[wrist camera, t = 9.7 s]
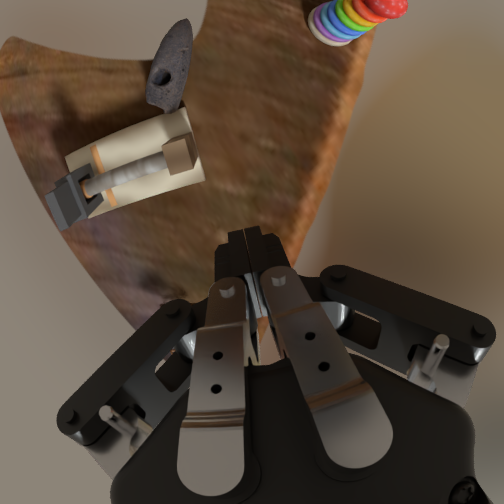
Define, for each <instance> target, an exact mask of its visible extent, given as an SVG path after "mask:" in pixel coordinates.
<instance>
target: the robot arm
mask: <svg viewBox="0 0 504 504" xmlns="http://www.w3.org/2000/svg"><path fill="white" fill-rule="evenodd" d="M244 231H245V236H246V240H245V236H244V232H243V229H241V230H237V231H232V232H228V242H229V243H226V244H221V245H219V246H218V247H217V249H216V251H215V283H214V284H213V285H212V286H211V287H210V289H209V295H208V297H207V298H206V299H204V300H202V301H201V302H198V303H196V304H194V305H192V306H191V305H190V303H189V302H188V301H186V300H183V299H176V300H172V301H169V302H167V303H166V304H164V305H163V306H162V307H161V308H160V309H159V310H157V311H156V312H155V313H154V314H153V315H152V316H151V317H150V318H149V319H148V320H147V321H146V322H145V323H144V324H143V325H142V326H141V327H140V328H139V329H138V330H137V331H136V332H135V333H134V334H133V335H132V336H131V337H130V338H129V339H128V340H127V341H126V342H125V343H124V344H123V345H122V346H121V347H120V348H119V349H117V351H115V352H114V354H112V355H111V356H110V358H108V359H107V360H106V361H105V362H104V363H103V365H102V366H101V367H99V368H98V369H97V371H95V373H94V374H92V376H91V377H90V378H89V379H88V380H87V381H86V382H85V383H84V384H83V385H82V386H81V387H80V388H79V389H78V390H77V391H76V392H75V393H74V394H73V395H72V396H71V397H70V398H69V399H68V400H67V401H66V402H65V403H64V404H63V405H62V407H61V408H60V409H59V412H58V414H57V426H58V428H59V430H60V431H61V432H62V433H64V434H65V435H67V436H68V437H70V438H71V439H73V440H74V441H76V442H77V443H78V444H79V445H81V446H83V447H84V448H86V449H87V450H88V452H89V453H90V455H91V456H92V457H93V458H94V459H95V461H96V462H97V463H98V464H99V465H100V466H101V468H102V469H103V470H104V471H105V472H106V473H107V474H108V475H109V476H110V478H111V479H112V480H113V482H112V485H111V491H110V498H111V504H493V502H492V501H491V500H490V499H489V498H488V496H487V495H486V494H485V492H484V491H483V490H482V488H481V487H480V485H479V484H478V482H477V480H476V477H475V471H474V444H475V429H474V425H473V422H472V420H471V418H470V416H469V415H468V413H467V412H466V411H465V410H464V407H465V404H466V402H467V399H468V396H469V393H470V390H471V387H472V384H473V381H474V378H475V374H476V371H477V367H478V365H479V364H480V362H481V361H482V359H483V358H484V357H485V355H486V354H487V352H488V350H489V349H490V348H491V346H492V344H493V343H494V341H495V338H496V331H495V328H494V326H493V324H492V322H491V321H490V320H489V319H487V318H486V317H484V316H482V315H479V314H477V313H474V312H471V311H469V310H466V309H463V308H461V307H458V306H456V305H453V304H450V303H448V302H445V301H442V300H440V299H437V298H434V297H432V296H429V295H426V294H424V293H421V292H418V291H415V290H413V289H410V288H407V287H405V286H402V285H399V284H396V283H394V282H391V281H388V280H385V279H382V278H380V277H377V276H374V275H371V274H368V273H366V272H363V271H360V270H357V269H354V268H351V267H349V266H345V265H332V266H329V267H327V268H325V269H324V270H323V271H322V272H321V274H320V277H304V276H301V275H298V274H297V272H296V271H295V270H294V269H292V268H291V266H290V263H289V261H288V259H287V256H286V254H285V251H284V249H283V246H282V244H281V242H280V239H279V237H277V236H276V235H274V234H273V233H270V234H266V235H262V233H261V230H260V227H259V226H254V227H250V228H245V229H244ZM246 241H247V245H246ZM247 246H248V249H247ZM248 251H249V253H248ZM249 256H250V258H249ZM250 261H251V262H250ZM253 276H254V277H253ZM254 280H255V282H254ZM255 284H256V287H255ZM256 289H257V292H256ZM257 293H258V297H259V301H260V306H261V310H262V314H263V316H267V315H268V319H269V324H270V328H271V332H272V335H273V338H274V341H275V344H276V347H277V350H278V353H279V356H280V359H281V360H279V361H277V362H275V363H273V364H270V365H261V363H260V350H259V336H258V330H257V327H258V324H257V318H258V317H261V312H260V307H259V302H258V297H257ZM355 310H356V311H359V312H361V313H364V314H366V315H368V316H370V317H373V318H375V319H377V320H378V321H379V322H380V323H379V322H376V321H374V320H372V319H369V318H367V317H365V316H362V315H360V314H358V313H355ZM345 346H346V347H348V348H350V349H352V350H354V351H356V352H358V353H360V354H362V355H365V356H367V357H368V358H371V359H373V360H375V361H377V362H379V363H381V364H383V365H386V366H388V367H390V368H392V369H394V370H396V371H399V372H401V373H403V374H405V375H407V380H406V379H404V378H402V377H400V376H398V375H397V374H395V373H393V372H391V371H389V370H387V369H385V368H383V367H381V366H379V365H377V364H375V363H373V362H371V361H369V360H367V359H365V358H363V357H361V356H358V355H355V354H351V353H348V352H347V350H346V348H345ZM173 347H174V349H175V350H176V351H175V352H174V353H173V354H172V355H171V356H170V357H169V358H168V360H167V361H166V362H165V363H164V364H163V365H162V366H161V367H160V368H159V370H158V371H157V372H156V373H155V368H156V366H157V365H158V363H159V362H160V361H161V360H162V359H163V358H164V357H165V356H166V355H167V354H168V353H169V352H170V350H171V349H172V348H173ZM189 387H190V388H189ZM188 388H189V389H188ZM159 422H160V423H159ZM158 423H159V424H158ZM155 427H156V428H155ZM154 428H155V429H154ZM153 429H154V430H153Z"/></svg>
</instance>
